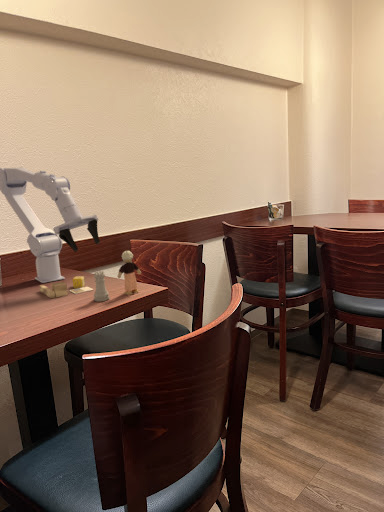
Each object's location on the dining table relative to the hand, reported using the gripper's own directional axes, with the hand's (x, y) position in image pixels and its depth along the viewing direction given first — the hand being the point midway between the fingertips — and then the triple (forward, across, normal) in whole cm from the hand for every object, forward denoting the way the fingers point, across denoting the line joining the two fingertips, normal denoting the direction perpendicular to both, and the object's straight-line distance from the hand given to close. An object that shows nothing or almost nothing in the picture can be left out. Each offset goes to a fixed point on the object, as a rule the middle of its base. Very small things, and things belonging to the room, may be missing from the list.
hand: (87, 246), depth 128 cm
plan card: (+12, -7, +3) cm, 14 cm away
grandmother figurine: (+21, +2, -10) cm, 23 cm away
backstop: (+8, -16, +6) cm, 19 cm away
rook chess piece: (+19, -7, -10) cm, 23 cm away
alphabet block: (+10, -5, +8) cm, 14 cm away
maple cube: (+11, -14, +2) cm, 18 cm away
